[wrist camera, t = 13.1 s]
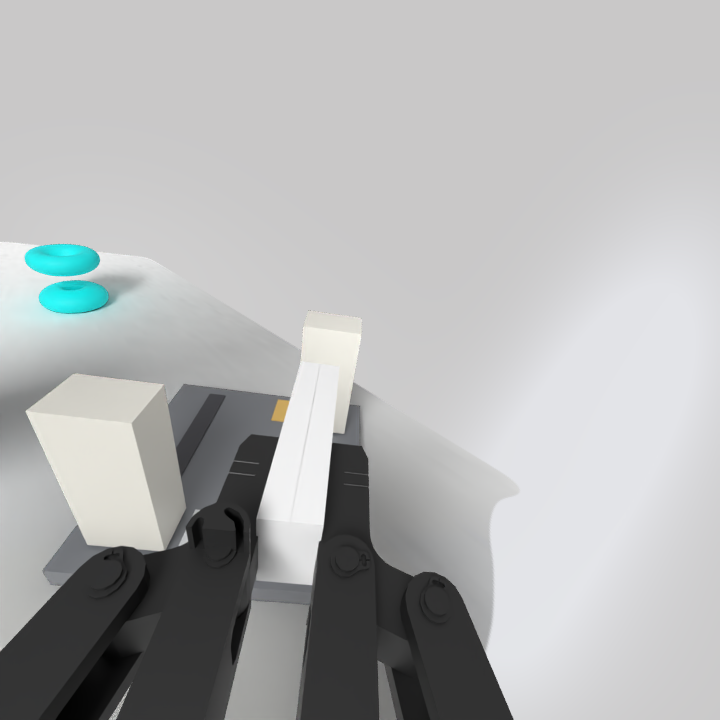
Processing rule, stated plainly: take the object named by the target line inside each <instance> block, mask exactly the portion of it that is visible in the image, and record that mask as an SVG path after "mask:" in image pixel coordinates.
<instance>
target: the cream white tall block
mask: <svg viewBox="0 0 720 720" xmlns="http://www.w3.org/2000/svg"><path fill="white" fill-rule="evenodd" d="M361 335H362V318H357V317H351V316H343V315H337V314H330V313H323V312H316V311H308V313H307V316H306V319H305V322H304V326H303V335H302V349H301V361H303V362H311V363H318V364H325V365H333V366H340V367H339V377H338V387H337V397H336V407H335V417H334V427H333V433H341V434H344V432H345V426H346V420H347V415H348V409H349V403H350V398H351V392H352V386H353V381H354V375H355V369H356V364H357V358H358V352H359V347H360V341H361ZM300 363H301V362H300Z"/></svg>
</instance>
